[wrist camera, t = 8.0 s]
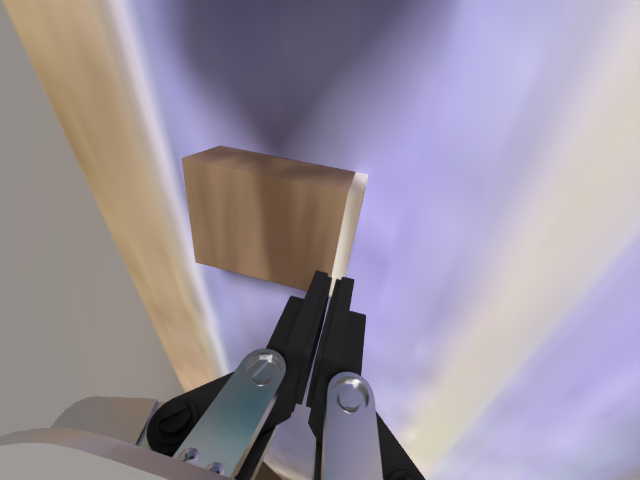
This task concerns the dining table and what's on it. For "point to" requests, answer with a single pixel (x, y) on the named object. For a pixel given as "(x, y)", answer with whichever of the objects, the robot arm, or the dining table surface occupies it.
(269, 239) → the walnut block
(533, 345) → the dining table surface
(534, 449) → the dining table surface
